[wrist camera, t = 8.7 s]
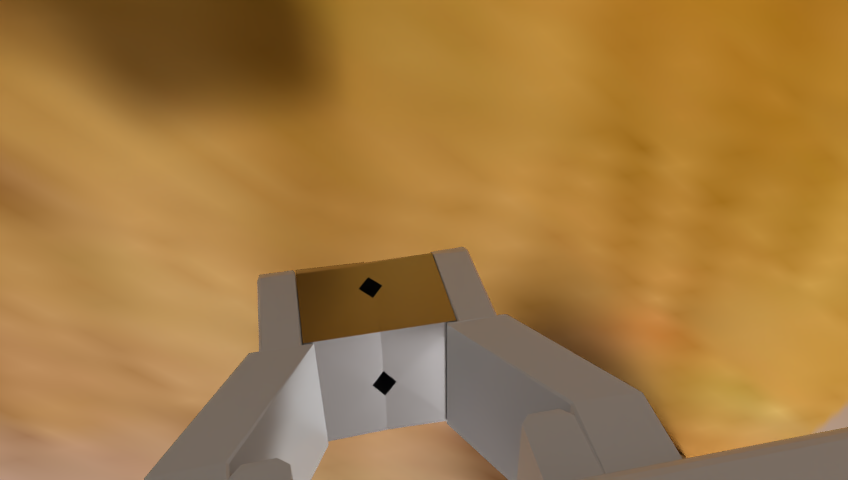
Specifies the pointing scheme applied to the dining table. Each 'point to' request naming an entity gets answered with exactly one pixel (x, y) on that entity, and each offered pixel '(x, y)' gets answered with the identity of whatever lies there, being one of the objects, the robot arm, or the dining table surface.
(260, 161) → the dining table surface
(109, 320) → the dining table surface
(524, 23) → the dining table surface
